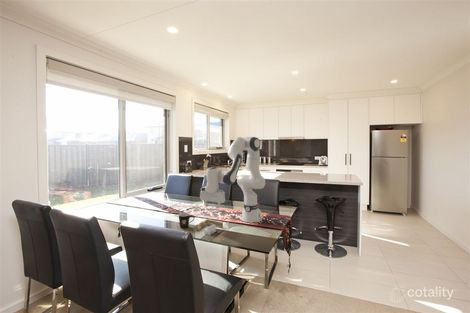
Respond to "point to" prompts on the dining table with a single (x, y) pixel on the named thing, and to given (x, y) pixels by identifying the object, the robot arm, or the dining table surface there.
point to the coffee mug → (184, 220)
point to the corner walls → (208, 222)
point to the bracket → (211, 230)
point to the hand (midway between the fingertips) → (212, 207)
